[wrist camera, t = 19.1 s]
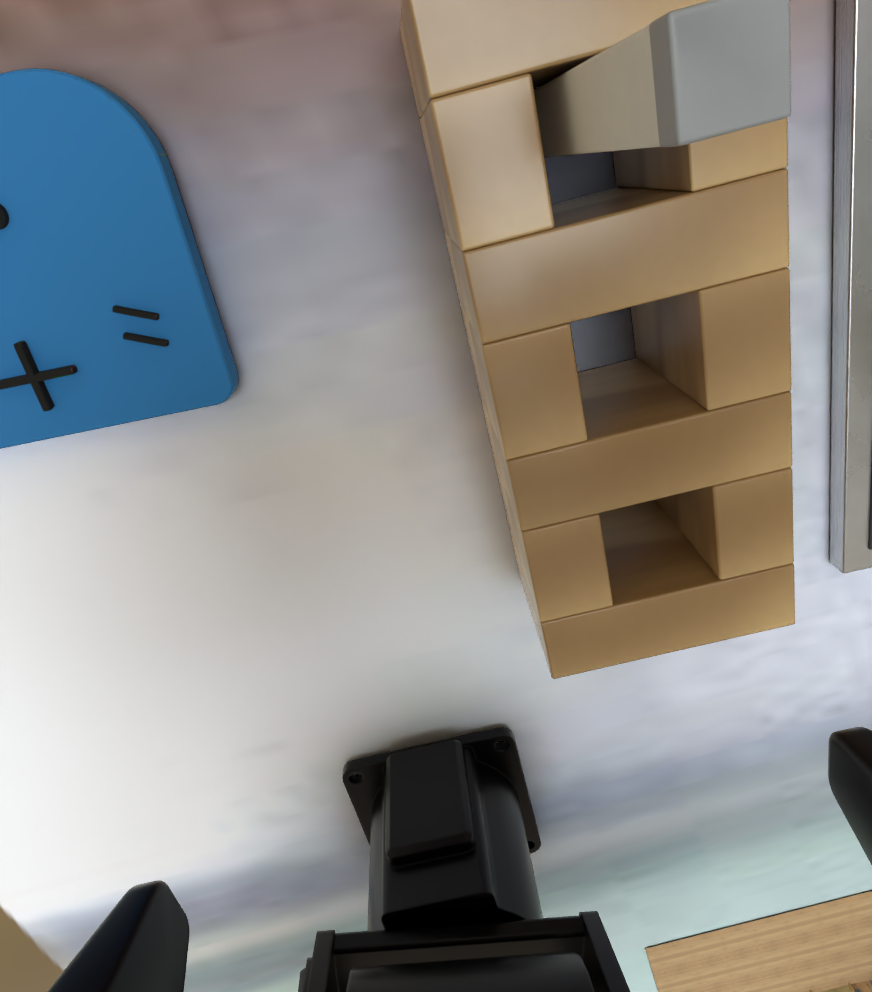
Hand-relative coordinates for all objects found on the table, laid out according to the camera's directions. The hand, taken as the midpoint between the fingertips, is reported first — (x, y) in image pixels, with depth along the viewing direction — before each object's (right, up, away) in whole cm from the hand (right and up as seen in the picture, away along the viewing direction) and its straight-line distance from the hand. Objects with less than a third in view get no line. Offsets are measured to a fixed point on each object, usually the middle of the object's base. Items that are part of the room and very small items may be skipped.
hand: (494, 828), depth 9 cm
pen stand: (+3, +9, +10) cm, 14 cm away
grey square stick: (+2, +14, +8) cm, 16 cm away
